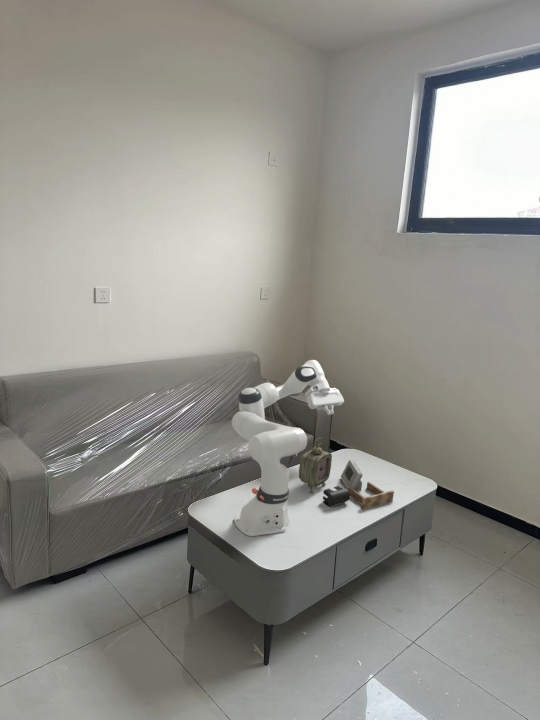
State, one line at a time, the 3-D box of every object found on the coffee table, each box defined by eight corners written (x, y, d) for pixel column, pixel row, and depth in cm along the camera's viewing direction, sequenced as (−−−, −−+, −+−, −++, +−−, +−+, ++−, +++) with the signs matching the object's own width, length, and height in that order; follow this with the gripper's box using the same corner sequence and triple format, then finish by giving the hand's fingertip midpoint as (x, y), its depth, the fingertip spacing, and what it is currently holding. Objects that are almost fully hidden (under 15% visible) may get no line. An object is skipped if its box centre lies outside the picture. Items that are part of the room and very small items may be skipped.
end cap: (332, 510, 216) (333, 496, 214) (321, 502, 221) (323, 488, 220) (349, 505, 221) (351, 491, 220) (338, 497, 227) (340, 484, 225)
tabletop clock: (312, 496, 226) (317, 445, 220) (295, 489, 231) (300, 439, 225) (328, 485, 237) (334, 436, 231) (312, 479, 242) (317, 431, 236)
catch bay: (362, 509, 218) (363, 499, 217) (342, 494, 230) (343, 484, 228) (392, 501, 227) (394, 491, 226) (372, 487, 239) (373, 477, 238)
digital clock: (340, 477, 247) (342, 457, 244) (358, 479, 246) (361, 459, 244) (342, 493, 231) (345, 472, 228) (362, 495, 230) (365, 474, 228)
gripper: (334, 390, 262) (344, 414, 256) (302, 394, 251) (311, 419, 245) (340, 384, 257) (350, 409, 251) (308, 388, 246) (317, 413, 241)
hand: (331, 414), depth 248 cm, fingers closed
